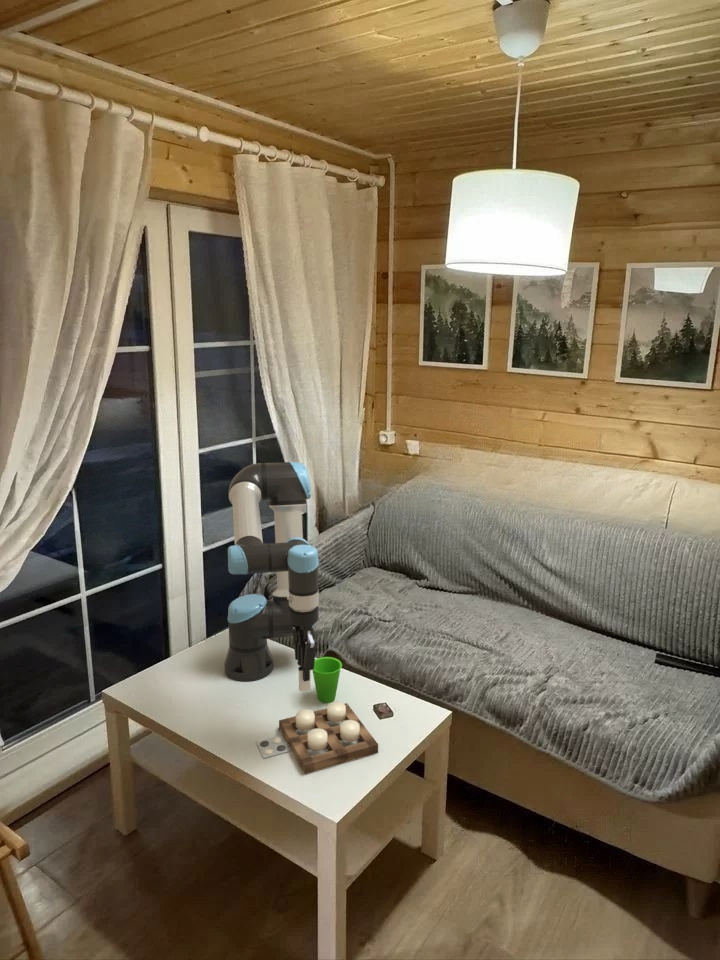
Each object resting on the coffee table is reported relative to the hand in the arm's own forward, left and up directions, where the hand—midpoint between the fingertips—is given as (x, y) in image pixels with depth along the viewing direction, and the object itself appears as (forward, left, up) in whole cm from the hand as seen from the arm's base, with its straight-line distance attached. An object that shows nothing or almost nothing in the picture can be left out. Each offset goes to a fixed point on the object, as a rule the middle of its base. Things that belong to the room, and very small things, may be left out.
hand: (304, 689), depth 178 cm
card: (+1, -9, -14) cm, 17 cm away
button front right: (+9, 0, -11) cm, 14 cm away
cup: (-14, +12, -14) cm, 23 cm away
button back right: (0, 0, -11) cm, 11 cm away
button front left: (+9, +9, -11) cm, 17 cm away
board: (+4, +5, -14) cm, 15 cm away
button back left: (0, +9, -11) cm, 14 cm away
